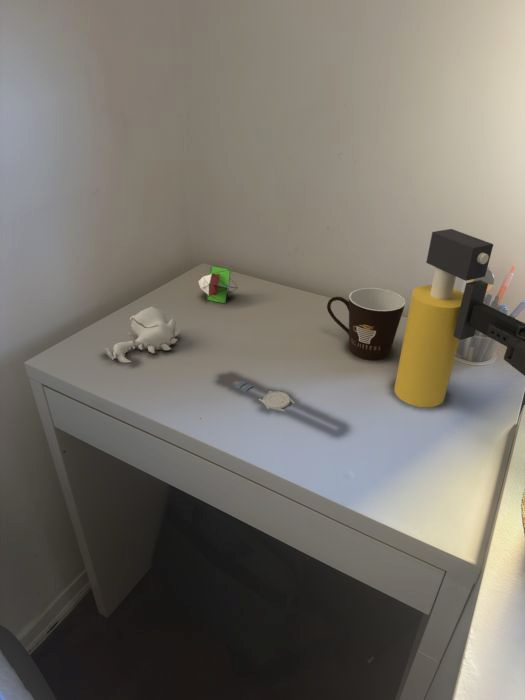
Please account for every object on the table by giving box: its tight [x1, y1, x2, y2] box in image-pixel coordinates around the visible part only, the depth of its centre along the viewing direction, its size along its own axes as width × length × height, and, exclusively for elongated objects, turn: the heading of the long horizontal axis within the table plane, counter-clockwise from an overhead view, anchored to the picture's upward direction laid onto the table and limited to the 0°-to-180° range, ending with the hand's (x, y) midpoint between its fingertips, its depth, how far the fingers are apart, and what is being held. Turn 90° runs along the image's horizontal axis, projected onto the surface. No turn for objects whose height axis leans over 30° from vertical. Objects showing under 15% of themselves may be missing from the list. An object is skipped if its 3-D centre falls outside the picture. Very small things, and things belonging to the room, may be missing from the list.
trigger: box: [453, 279, 489, 341], centre depth 60 cm, size 2×1×7 cm, turn 117°
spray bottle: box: [393, 228, 494, 408], centre depth 65 cm, size 7×9×24 cm
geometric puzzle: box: [197, 265, 239, 305], centre depth 98 cm, size 7×7×8 cm
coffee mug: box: [326, 287, 406, 362], centre depth 81 cm, size 12×9×10 cm
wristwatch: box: [234, 380, 296, 412], centre depth 69 cm, size 4×20×1 cm, turn 53°
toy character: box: [105, 306, 182, 363], centre depth 80 cm, size 6×9×12 cm
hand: (475, 314), depth 60 cm, fingers closed
